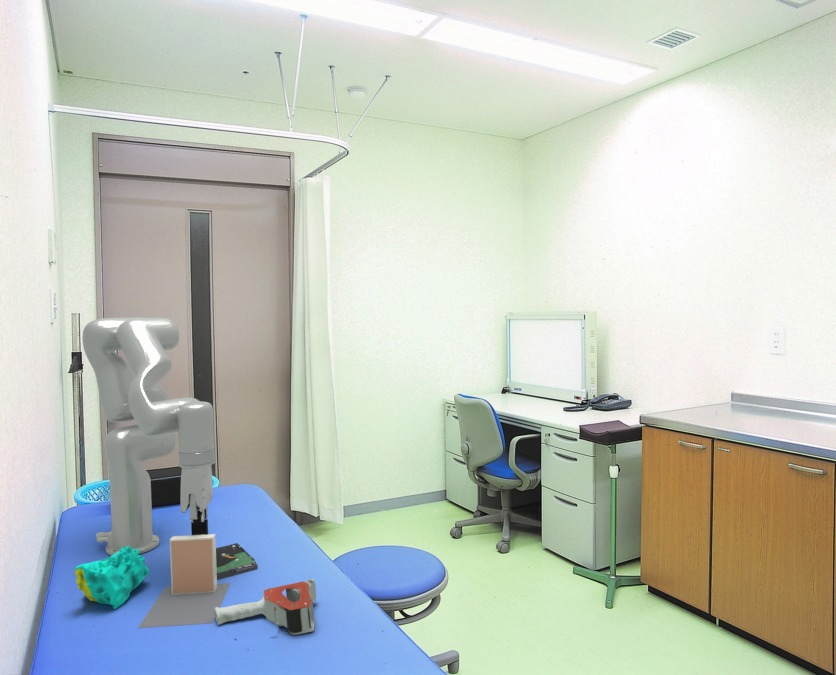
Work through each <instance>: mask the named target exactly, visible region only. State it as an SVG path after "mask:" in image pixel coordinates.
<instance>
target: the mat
mask: <svg viewBox="0 0 836 675" xmlns="http://www.w3.org/2000/svg"><path fill="white" fill-rule="evenodd" d="M230 587H231V582H223V583H217V589H216V591H215V592H209V593H193V594H177V595H172V587H171V586H165V587H164V589H163V590H162V591H161V593H160V594H159V596H158V597H157V598H156V600H155V601H154V603H153V604H152V606H151V607H150V609H149V610H148V612H147V613H146V615H145V616H144V617H143V619H142V620H141V622H140V624H139V625H138V626H137V629H147V628H148V629H150V628H162V627H177V626H178V627H179V626H195V625H208V624H213V622H214V621H215V620H216V618H215V611H214V609H215V608H216V607H219V608H221V606H222V604H223V601H224V599H225V597H226V594H227V592H228V591H229V590H228V589H230Z"/></svg>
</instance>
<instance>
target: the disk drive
mask: <svg viewBox="0 0 836 675" xmlns="http://www.w3.org/2000/svg"><path fill="white" fill-rule="evenodd" d="M216 567H217V581H218V580H221V579H222V580H223V579H227V578H229V577H233V576H235V575H241V574H245V573H249V572H251V571H255V570H258V564H257V561H256V560H255V559H254V557H252V556H251V554H249V553H248V552H247V551H246V550H245V549H244V548H243V547H242V546H241V545H240V544H238V542H237V543H231V544H227V545H223V546H220V547H216Z"/></svg>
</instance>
